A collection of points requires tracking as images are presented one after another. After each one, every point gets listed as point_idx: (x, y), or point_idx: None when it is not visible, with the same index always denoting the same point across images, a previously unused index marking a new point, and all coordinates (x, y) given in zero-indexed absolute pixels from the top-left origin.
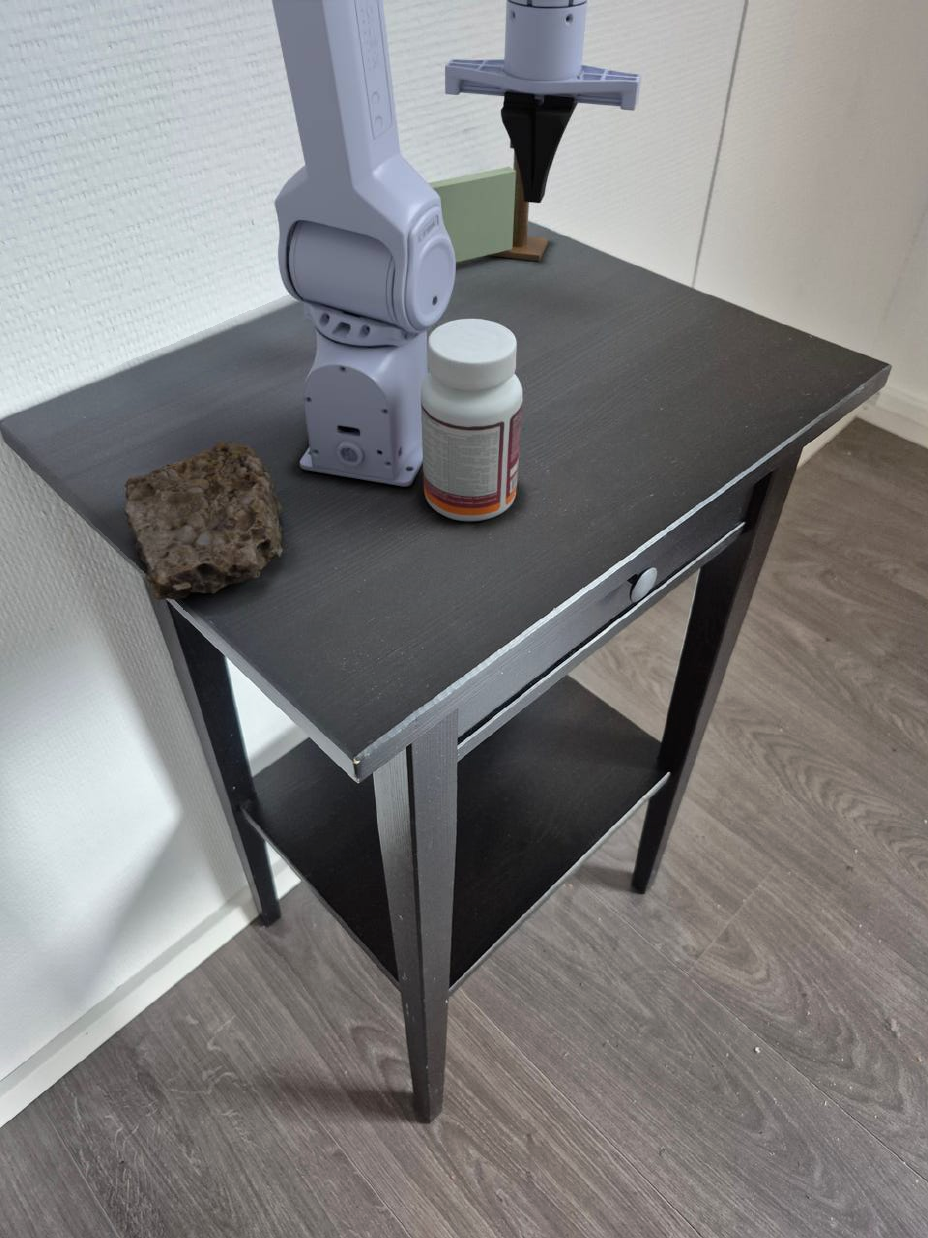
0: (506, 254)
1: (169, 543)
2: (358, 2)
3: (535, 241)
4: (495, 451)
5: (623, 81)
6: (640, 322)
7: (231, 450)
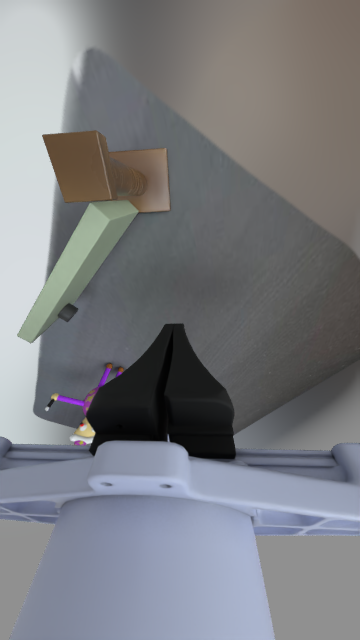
0: None
1: None
2: None
3: (154, 168)
4: None
5: (348, 532)
6: (268, 299)
7: None
